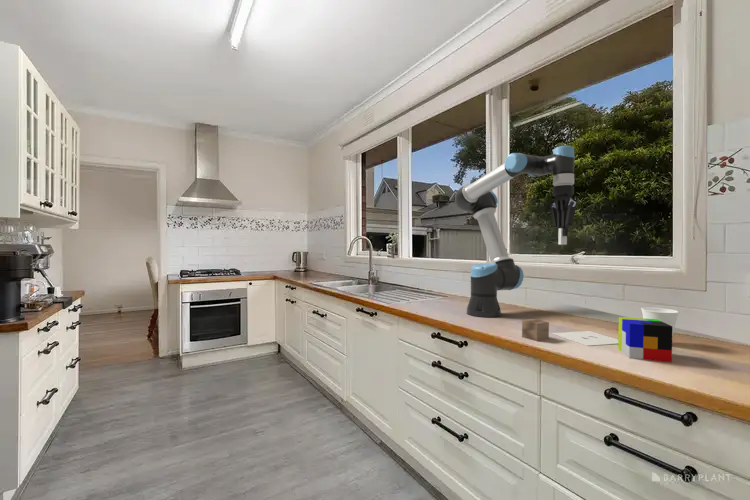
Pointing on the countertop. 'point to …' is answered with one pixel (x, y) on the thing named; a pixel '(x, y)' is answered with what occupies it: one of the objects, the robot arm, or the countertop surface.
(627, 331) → the puzzle toy
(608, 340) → the mat
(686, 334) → the countertop surface
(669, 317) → the cup
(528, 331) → the walnut block
